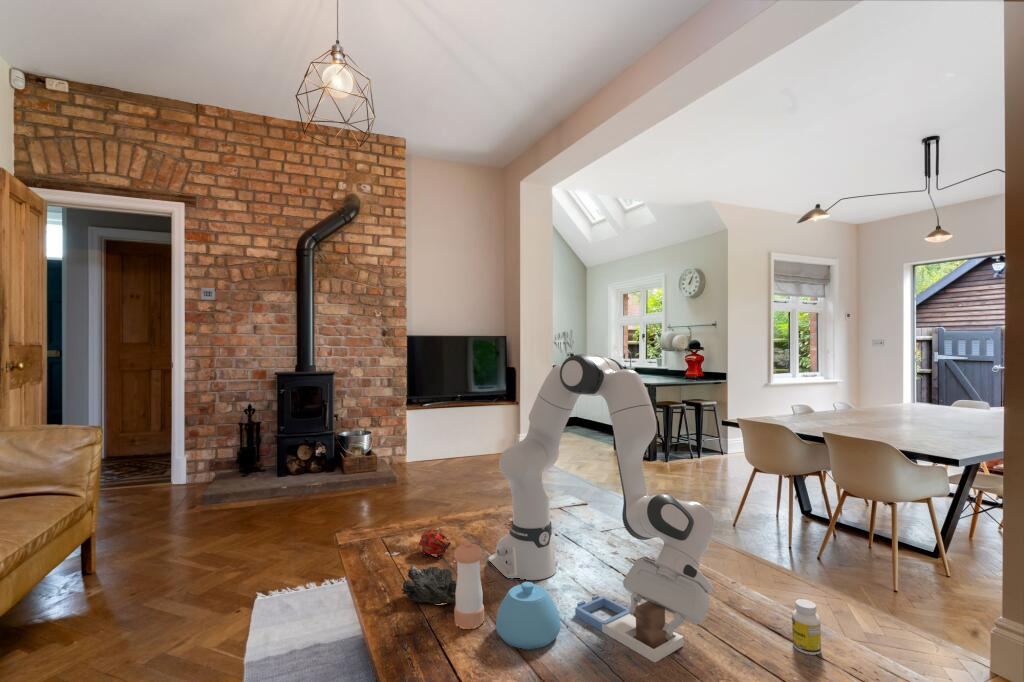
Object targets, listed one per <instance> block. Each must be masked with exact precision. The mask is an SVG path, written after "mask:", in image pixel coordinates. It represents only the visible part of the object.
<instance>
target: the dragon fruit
mask: <svg viewBox="0 0 1024 682" xmlns="http://www.w3.org/2000/svg"><path fill="white" fill-rule="evenodd" d="M418 546H419V547H421V546H422V547H421V550H422V553H423V554H424V553H427V554H428V555H430V554H440V555H441V554H446V553H447V551H448V549H449V547H450V546H451V541H449V539H448V538H447V536H446V535H445V534H443V533H442V531H441V530H439V529H436V528H430V529H427V530H425V531H424V533H422V535H421V536H420V540H419V542H418Z"/></svg>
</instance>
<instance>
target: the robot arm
mask: <svg viewBox="0 0 1024 682" xmlns="http://www.w3.org/2000/svg"><path fill="white" fill-rule="evenodd" d="M581 395H585V396H590V397H597V396H601V397H602V398H603V399H604V400H605V402H606V406H607V410H608V413H609V417H610V421H611V425H612V430H613V436H614V441H615V453H616V454H615V455H616V460H617V467H618V472H619V478H620V485H621V490H622V495H623V505H622V513H621V517H622V524H623V526H624V528H625V530H626V531H627V532H628V534H629V535H631V536H632V537H633V538H635V539H637V540H641V541H646V540H651V539H655V538H659V539H660V540H662V542H663V546H662V548H661V549H660V552H659V554H658V556H657V558H656V559H651V558H649V557H648V556H643V557H639V558H637V559H636V560H635V562H634V564H633V565H632V566H631V568H630V569H629V571H627V573H626V575H625V577H624V578H623V580H622V582H623V583H622V584H623V585H622V586H623V588H624V589H625V590H626V591H627V592H628V593H629V594H631V595H630V605H631V606H630V608H629V609H630V610H629V614H630V615H631V616H633V617H635V618H636V606H638V605H639V604H638V603H641V602H642V600H644V601H645V602H647V601H650V602H652V603H654V604H656V605H659V606H661V607H663V608H665V611H667V612H669V613H671V614H673V616H672V617H673V619H672V620H671V621H670V622H669V623H668V622H666V621H665V625H664V627H663V632H664V633H666V634H668V635H669V636H672V634H673V632H675V630H676V629H678V628H679V627H681V626H682V625H683V624H684V622H685V621H688V622H690V623H691V624H694V625H696V626H698V625H700V624H701V623H703V621H704V620H705V617H706V615H707V613H708V609H709V605H710V596H709V595H710V594H712V593H713V591H714V587H713V585H712V583H711V582H710V581H709V580H708V578H707V577H706V576H705V575H704V574H703V572H701V571H700V570H699V568H700V565H701V558H702V556H703V555H704V554H705V553H706V552H707V550H708V547H709V545H710V542H711V540H712V537H713V534H714V531H715V525H716V523H715V516H714V515H713V514H712V512H711V511H710V510H709V509H708V508H707V507H706V506H705V505H703V504H701V503H700V502H697V501H693V500H691V501H686V500H680V499H678V498H675V497H673V496H672V495H670V494H669V495H668V494H664V493H659V494H653V495H649V493H648V488H647V483H646V482H647V481H646V477H645V472H644V465H643V459H644V456H645V453H646V451H647V449H648V447H649V445H650V444H651V443H652V441H653V440H654V437H655V436H656V433H657V419H656V415H655V410H654V406H653V404H652V401H651V398H650V397H651V396H650V395H649V392H648V389H647V388H646V386H645V383H644V381H643V380H642V377H641V375H640V374H639V373H638V372H637V371H635V370H633V369H629V368H628V369H627V368H624V366H623V365H622V364H621V363H620V362H618V361H617V360H615V359H613V358H608V357H604V356H602V355H596V354H595V355H591V354H590V355H589V354H587V355H586V354H582V353H581V354H574V355H571V356H569V357H567V358H565V360H563V362H562V363H560V364H559V363H558V364H556V365H555V366H553V367H552V369H551V370H550V372H549V373H548V375H547V376H546V377H545V380H544V381H543V382H542V385H541V387H540V389H539V391H538V394H537V395H536V398H535V399H534V402H533V404H532V407H531V409H530V412H529V414H528V421H529V425H528V430H527V433H526V436H525V437H524V438H523V439H522V440H520V441H518V442H514V443H512V444H510V445H509V446H508V447H507V448H506V449H504V451H502V453H501V454H500V456H499V459H498V467H499V470H500V473H501V475H502V476H503V477H504V478H505V479H506V480H507V482H508V486H509V489H510V492H511V498H512V500H511V501H512V520H511V521H508V522H507V523H508V524H507V526H508V527H509V526H510V528H509V532H508V533H507V534H506V535H504V536H502V537H501V538H500V539H499V540H498V541H497V542H496V547H495V553H493V554H492V555H490V556H489V557H488V559H487V560H489V561H490V562H491V563H492V564H493V565H494V566H495V567H496V568H497V569H498V570H499V571H500V572H501V573H502V574H503V575H504V576H506V577H507V578H520V579H519V580H524V579H526V580H525V581H538V580H544V579H547V578H551V577H552V576H553V575H555V574H556V572H557V565H558V559H557V558H556V557H555V545H554V539H553V536H552V534H553V531H552V530H553V526H552V522H551V511H550V509H551V506H550V505H551V504H550V500H551V499H550V495H549V493H548V492H547V491H546V489H545V487H544V484H543V476H542V475H543V473H545V472H547V471H548V470H550V469H551V468H552V467H553V466H554V465H555V464H556V462H557V461H558V459H559V457H560V445H561V440H562V436H563V433H564V430H565V428H566V425H567V423H568V421H569V419H570V417H571V414H572V412H573V410H574V408H575V405H576V403H577V400H578V398H579V397H580V396H581ZM489 561H488V562H489ZM490 562H489V563H490ZM491 563H490V564H491ZM492 564H491V565H492ZM493 565H492V566H493ZM494 566H493V567H494ZM495 567H494V568H495ZM496 568H495V569H496ZM497 569H496V570H497ZM498 570H497V571H498ZM499 571H498V572H499ZM500 572H499V573H500ZM501 573H500V574H501ZM502 574H501V575H502ZM504 576H503V577H504ZM507 578H506V579H507Z"/></svg>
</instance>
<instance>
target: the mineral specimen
mask: <svg viewBox="0 0 1024 682" xmlns="http://www.w3.org/2000/svg"><path fill="white" fill-rule="evenodd" d="M452 576H453V572H452V570H451V569H448V568H440V567H438V566H428V567H427V568H423V569H419V568H417V567H416V566H415V565H414V564H412V565H411V566H410V568H409V569H408V572H407V577H408V579H407V580H405V581H404V582H403V583H402V587H403V588H402V589H401V591H403V592H402V593H401V594H403V595H406V596H407V597H408V598H409V599H410V600H411V601H412V600H413V602H418V603H423V602H429V603H428V604H432V603H434V604H441V603H448V604H453V603H455V601H456V596H455V592H456V585H457V580H453V579H454V578H453V577H452ZM409 579H410V580H409ZM434 604H433V605H434Z"/></svg>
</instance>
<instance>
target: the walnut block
mask: <svg viewBox="0 0 1024 682" xmlns="http://www.w3.org/2000/svg"><path fill="white" fill-rule="evenodd" d="M665 622H666V610H665V608H663V607H661V606H659V605H656V604H654V603H652V602H650V601H645V602H642V603H641V604H638V606H636V636H635V639H637V640H638V641H640V642H642V643H644V644H645V645H647V646H649V647H651V648H653V649H655V648H657V647H659V646H660V645H662V644H664V643H666V642H667V640H666V639H665V633H664V632H663V627H664V625H665Z"/></svg>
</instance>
